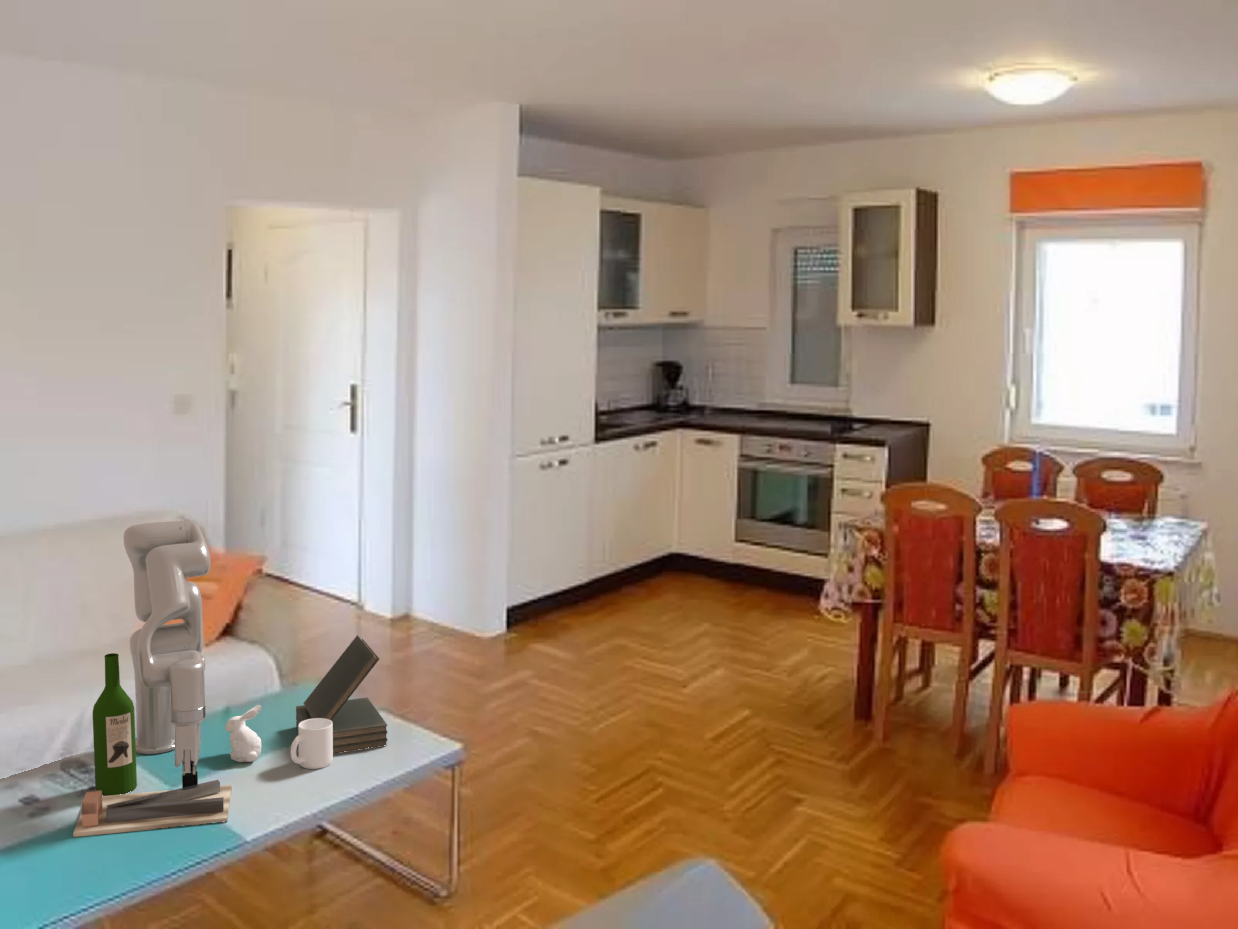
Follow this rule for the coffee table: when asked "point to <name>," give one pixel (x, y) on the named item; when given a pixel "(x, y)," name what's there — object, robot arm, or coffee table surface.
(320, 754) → the mug
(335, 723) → the stack of books
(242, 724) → the rabbit
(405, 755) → the coffee table surface
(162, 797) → the bar
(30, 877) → the coffee table surface
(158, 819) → the board
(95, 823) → the brown arch block
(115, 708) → the wine bottle
